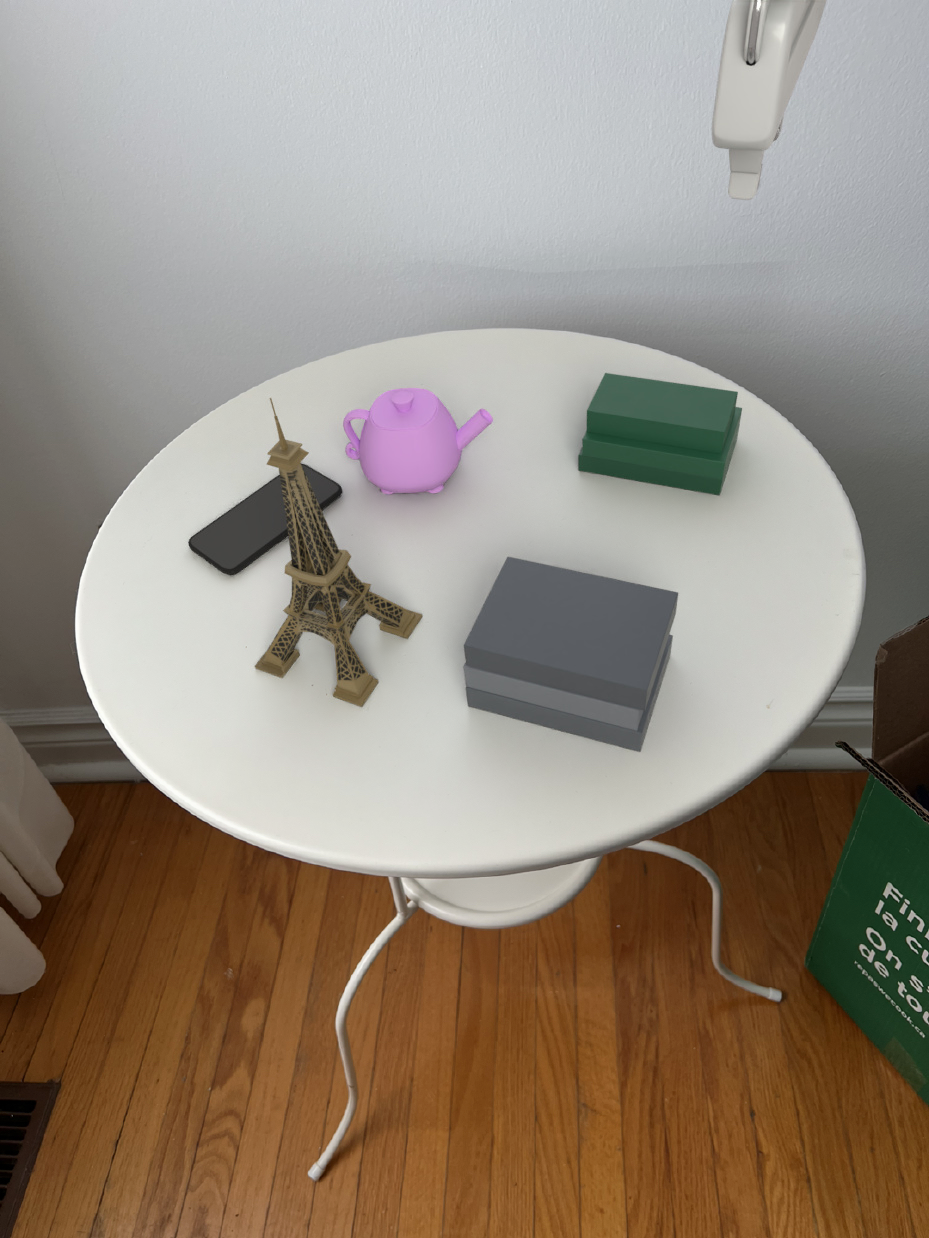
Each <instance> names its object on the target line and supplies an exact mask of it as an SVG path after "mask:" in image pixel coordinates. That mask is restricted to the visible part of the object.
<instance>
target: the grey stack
mask: <svg viewBox="0 0 929 1238" xmlns="http://www.w3.org/2000/svg"><path fill="white" fill-rule="evenodd" d="M678 600H679V592H678V591H674V590H669V589H664V588H659V587H654V586H650V585H645V584H639V583H635V582H630V581H627V580H626V581H625V580H621V579H616V578H611V577H607V576H602V575H597V574H593V573H588V572H584V571H579V570H575V569H574V570H573V569H569V568H565V567H560V566H555V565H550V564H545V563H541V562H536V561H531V560H527V559H522V558H517V557H512V556H507V557H506V559H505V561H504V563H503V565H502V567H501V569H500V571H499V573H498V575H497V577H496V579H495V581H494V583H493V585H492V586H491V589H490V590H489V593H488V594H487V597H486V599H485V600H484V603H483V606H482V607H481V609H480V611H479V613H478V615H477V617H476V619H475V621H474V623H473V625H472V627H471V629H470V632H469V633H468V635H467V637H466V639H465V641H464V643H463V651H464V652H463V653H464V659H465V660H464V661H465V662H464V664H463V667H462V668H463V674H464V681H465V693H466V700H467V701H466V702H467V706H468V707H469V708H473V709H477V710H481V711H485V712H488V713H492V714H495V715H500V716H503V717H507V718H510V719H515V720H518V721H521V722H525V723H529V724H533V725H537V726H540V727H543V728H544V727H545V728H548V729H552V730H554V731H560V732H564V733H566V734H571V735H574V736H578V737H582V738H584V739H585V738H586V739H589V740H593V741H597V742H601V743H605V744H608V745H612V746H616V747H619V748H623V749H627V750H630V751H633V752H638V753H640V752H642V748H643V745H644V741H645V739H646V735H647V733H648V729H649V725H650V722H651V719H652V716H653V712H654V710H655V706H656V703H657V700H658V696H659V693H660V690H661V687H662V683H663V680H664V677H665V674H666V671H667V667H668V665H669V661H670V657H671V654H672V647H673V637H674V636H673V634H670V633H671V630H672V627H673V624H674V621H675V618H676V614H677V607H678Z"/></svg>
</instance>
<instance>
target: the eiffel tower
mask: <svg viewBox="0 0 929 1238" xmlns="http://www.w3.org/2000/svg"><path fill="white" fill-rule="evenodd" d="M269 401H270V404H271V408H272V412H273V415H274V416H273V418H274V421H275V425H276V431H277V435H278V441H277V442H276V443H275V444H274V446H273V447H271V449H270V450H269V451H268V452H267V455H268V456H270V457H269V458H268V461H267V462H266V465H267V466H270V467H274V468H277V469H278V475H279V474H280V481H281V487H282V494H283V500H284V507H285V513H286V521H287V529H288V536H287V537H288V544H289V551H290V559H291V560H289V562H287V563H286V564H284V574H285V575H287V576H289V577H291V596H290V601H289V604H288V605H287V606H286V607H285V608H284V609H283V610H282V612H284V613H285V614H286V615H287V617H286V618H285V620H284V621H283V623H282V625H281V627H280V628H279V629H278V631H277V633H276V634H275V636H274V638H273V640H272V642H271V643H270V645H269V647H268V648H267V649H266V651H265V652H264V654H263V655H262V656H261V657H260V658H259V660H258V661H257V662H256V664H255V665H254V668H255V669H256V670H258V671H261V672H264V673H266V674H269V675H272V676H275V677H277V678H280V679H283V678H284V677H285V676H286V674H287V673H288V672H289V670H290V669H291V667H292V666H293V665H294V664H295V662H296V661H297V660H298V658H299V657H300V656H301V653H300V651H299V649H296V646H297V645H298V643H299V641H300V639H301V637H302V636H303V633H312V634H315V635H317V636H319V637H321V638H323V639H325V640H326V641H327V642H329V643H330V644H332V645H334V656H335V657H334V658H335V672H336V685H335V687H334V692H333V693H332V696H333V698H335V699H338V700H341V701H344V702H347V703H349V704H352V705H355V706H358V707H361V708H363V707H364V706H365V704H366V702H367V701H368V699H369V698H370V696H371V695H372V693H373V692H374V690H375V689H376V688H377V686H378V684H379V679H377V678H374V675H371V674H369V671H368V670H367V668H366V667H365V665H364V663H363V662H362V660H361V658H360V657H359V655H358V653H357V651H356V649H355V648H354V646H353V645H352V643H351V642H350V640H351V638H352V635H353V632H354V630H355V628H356V626H357V624H358V622H359V621H360V620H361V618H362V617H363V616H365V615H366V614H367V615H369V616H370V617H372V618H374V619H375V620H377V621H379V624H378V627H379V630H380V631H382V632H385V633H388V634H390V635H395V636H396V637H397V636H398V637H400V638H403V639H407V640H408V639H409V638H410V636H411V635H412V633H413V632H414V631H415V629H416V627H417V626H418V624H419V623H420V621H422V619H423V614H422V613H419V612H416V611H413V610H410V609H406V608H404V607H403V606H401V605H399V604H396V603H395V602H393V601H391V600H388V599H386V598H385V597H383V596H380V595H378V594H376V593H374V592H372V591H370V589H371V586H372V583H368V582H364V581H361V579H359V578H358V577H357V576H356V574H355V573H354V571H353V570H352V569H351V567H350V566H349V562H350V560H351V559H352V554H350V553H349V551H348V550H347V549H346V550H345V549H341V548H339V546H338V544H337V542H336V540H335V538H334V535H333V533H332V531H331V528H330V527H329V524H328V522H327V520H326V517H325V515H324V513H323V510H322V511H321V509H320V506H319V504H318V502H317V499H316V497H315V495H314V492H313V490H312V488H311V485H310V483H309V481H308V478H307V476H306V474H305V471H304V469H303V467H302V464H303V463H302V462H303V460H304V459H305V458H306V457H307V456H308V454H310V452H309V451H306V450H304V449H303V448H302V447H303V443H301V442H297V441H293V440H289V439H286V438H285V434H284V431H283V429H282V426H281V424H280V421H279V417H278V415H277V413H276V410H275V406H274V403H273V400H272V397H269ZM301 463H302V464H301ZM342 600H344V601H346V602H345V604H344V605H343V606H342V608H341V606H340V602H341V601H342ZM314 609H315V610H317V611H320V612H323V613H325V614H322V613H321V614H320V613H317V612H315V611H314Z"/></svg>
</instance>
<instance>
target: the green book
mask: <svg viewBox="0 0 929 1238" xmlns="http://www.w3.org/2000/svg"><path fill="white" fill-rule="evenodd" d="M738 394H739V391H735V390H728V389H722V388H721V389H720V388H714V387H706V386H702V385H701V386H700V385H694V384H686V383H685V384H684V383H679V382H673V381H666V380H665V381H664V380H659V379H658V380H657V379H652V378H651V379H650V378H646V377H645V378H644V377H639V376H637V377H636V376H631V375H630V376H629V375H622V374H615V373H609V372H608V373H607V372H605V373H604V374H603V377H602V378H601V381H600V383H599V385H598V386H597V389H596V390H595V393H594V395H593V397H592V399H591V401H590V403H589V405H588V406H587V409H586V428H585V429H586V431H585V433H586V432H591V433H597V434H603V435H609V436H616V437H622V438H628V439H634V440H640V441H646V442H652V443H658V444H665V445H671V446H677V447H683V448H689V449H695V450H701V451H708V452H714V453H720V454H722V451H723V448H724V445H725V441H726V438H727V435H728V432H729V429H730V426H731V423H732V420H733V417H734V413H735V407H737V401H738Z"/></svg>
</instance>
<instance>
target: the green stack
mask: <svg viewBox="0 0 929 1238" xmlns="http://www.w3.org/2000/svg"><path fill="white" fill-rule="evenodd" d="M742 412H743V407H739V406H736V407H735V413H734V417H733V420H732V423H731V426H730V429H729V432H728V435H727V438H726V441H725V445H724V448H723V451H722V454H720V453H714V452H708V451H701V450H695V449H689V448H683V447H677V446H671V445H665V444H658V443H652V442H646V441H640V440H634V439H628V438H622V437H616V436H609V435H603V434H597V433H591V432H586V431H585V432H584V435H583V437H582V442H581V445H582V446H581V448H580V451H579V453H578V456H577V457H578V458H577V459H578V461H577V467H578V468H577V470H578V471H580V472H585V473H589V474H590V473H591V474H596V475H602V476H607V477H612V478H613V477H614V478H618V479H624V480H631V481H635V482H641V483H647V484H651V485H658V486H663V487H664V486H665V487H669V488H674V489H675V488H676V489H681V490H687V491H693V492H697V493H705V494H710V495H715V496H720V495H721V493H722V490H723V486H724V483H725V480H726V477H727V475H728V474H727V473H728V471H729V467H730V464H731V461H732V458H733V454H734V451H735V449H736V448H735V447H736V444H737V441H738V436H739V431H740V424H741V418H742Z"/></svg>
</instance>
